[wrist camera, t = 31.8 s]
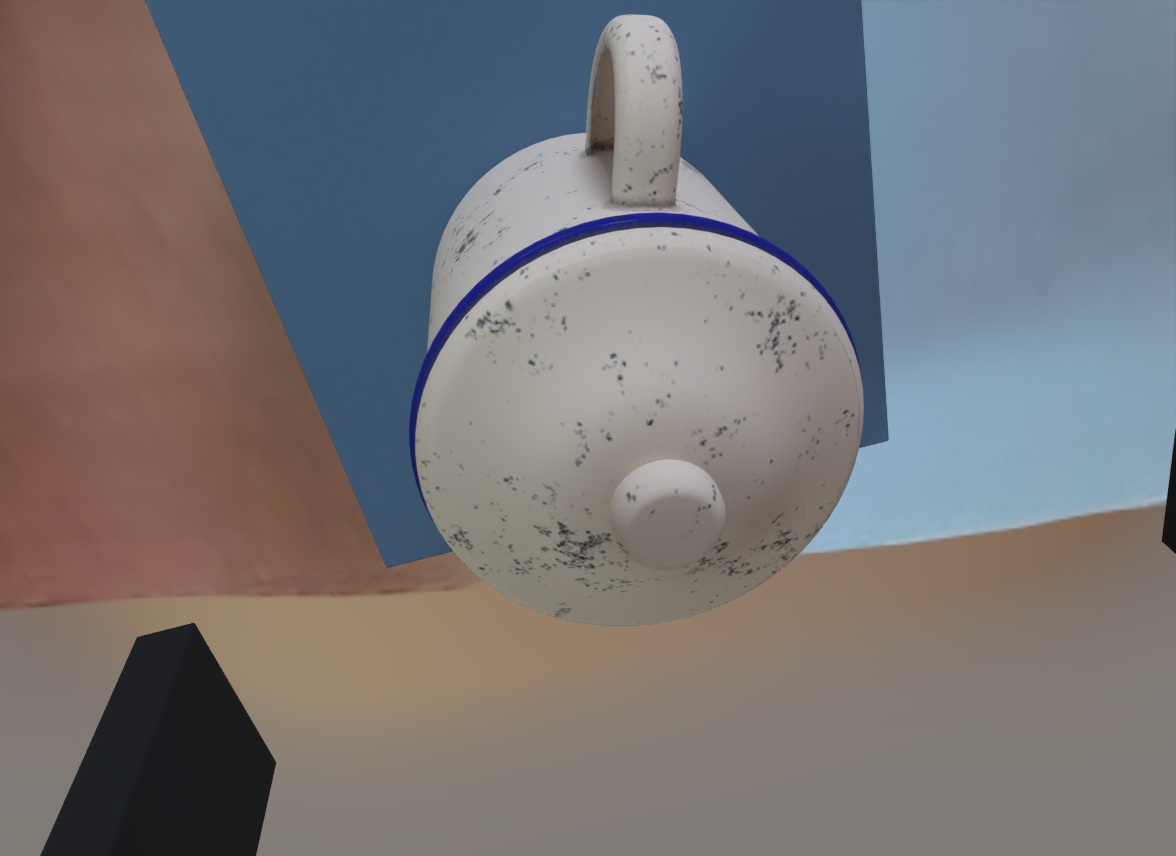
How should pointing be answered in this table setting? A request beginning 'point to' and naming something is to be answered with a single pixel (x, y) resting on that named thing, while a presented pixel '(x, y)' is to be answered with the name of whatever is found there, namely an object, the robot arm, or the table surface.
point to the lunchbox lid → (476, 145)
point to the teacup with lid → (627, 370)
